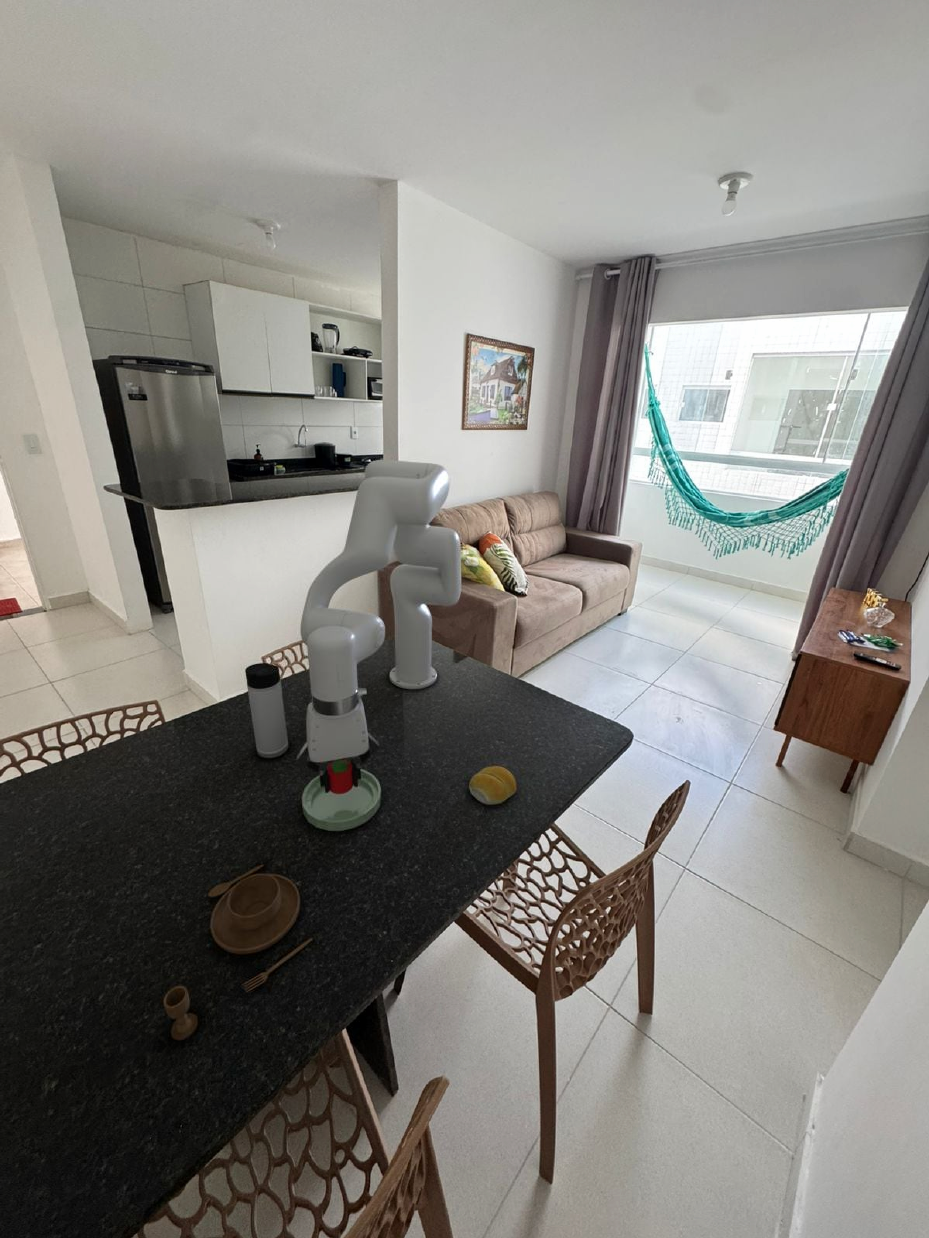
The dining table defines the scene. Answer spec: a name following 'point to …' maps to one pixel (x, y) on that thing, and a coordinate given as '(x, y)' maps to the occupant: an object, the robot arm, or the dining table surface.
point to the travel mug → (267, 709)
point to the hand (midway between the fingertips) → (340, 783)
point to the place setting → (243, 931)
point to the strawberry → (340, 776)
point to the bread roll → (492, 785)
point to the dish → (341, 804)
